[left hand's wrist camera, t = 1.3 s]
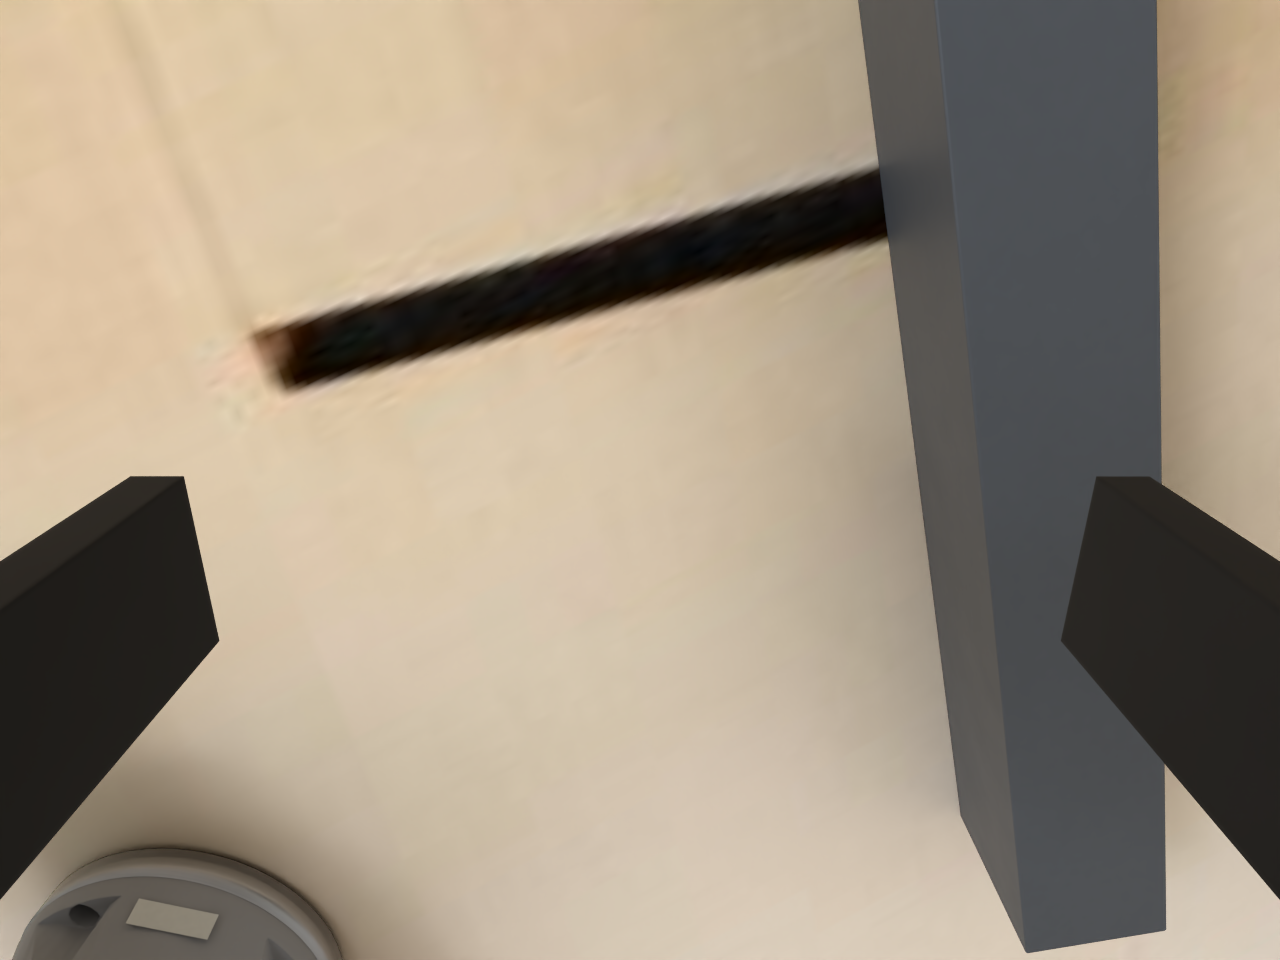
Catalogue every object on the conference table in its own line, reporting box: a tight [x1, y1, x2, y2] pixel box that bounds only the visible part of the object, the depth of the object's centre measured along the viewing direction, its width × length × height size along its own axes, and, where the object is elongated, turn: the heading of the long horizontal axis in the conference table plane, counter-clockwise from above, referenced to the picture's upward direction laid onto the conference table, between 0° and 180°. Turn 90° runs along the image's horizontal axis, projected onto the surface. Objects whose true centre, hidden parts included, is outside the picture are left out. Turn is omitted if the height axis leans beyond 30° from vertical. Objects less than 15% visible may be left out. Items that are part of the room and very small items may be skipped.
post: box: [858, 0, 1166, 953], centre depth 26 cm, size 53×5×7 cm, turn 13°
